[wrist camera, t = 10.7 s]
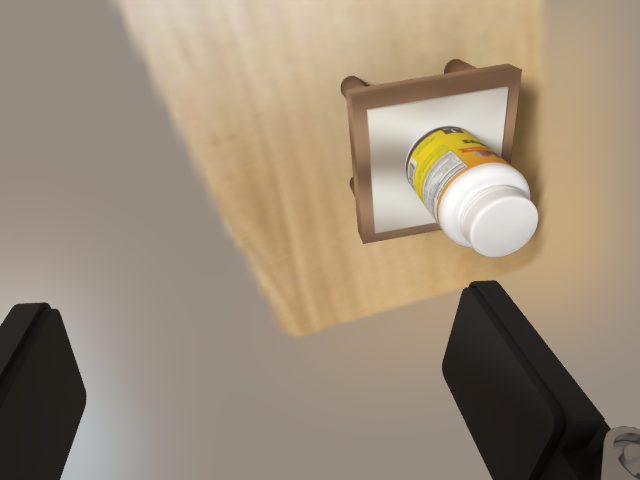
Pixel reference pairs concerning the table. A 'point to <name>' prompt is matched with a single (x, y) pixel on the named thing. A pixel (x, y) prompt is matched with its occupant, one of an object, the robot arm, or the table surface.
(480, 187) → the supplement bottle
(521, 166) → the table surface
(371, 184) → the footstool
